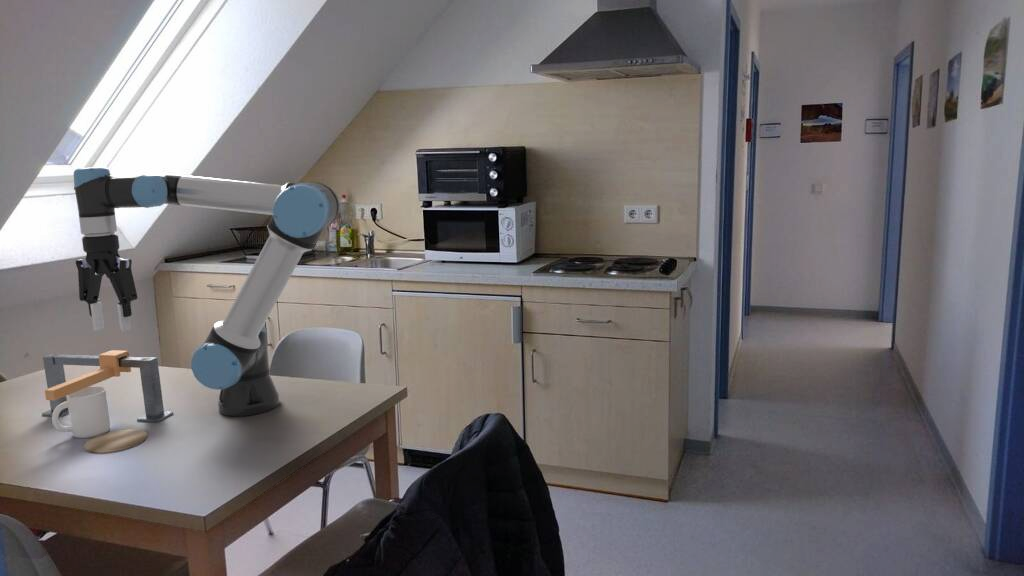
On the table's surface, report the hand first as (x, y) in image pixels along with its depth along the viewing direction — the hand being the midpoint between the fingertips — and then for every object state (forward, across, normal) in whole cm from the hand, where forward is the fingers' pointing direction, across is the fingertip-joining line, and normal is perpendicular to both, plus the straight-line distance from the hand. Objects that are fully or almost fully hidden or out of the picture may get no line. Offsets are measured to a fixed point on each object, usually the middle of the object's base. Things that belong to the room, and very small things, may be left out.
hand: (112, 329), depth 181 cm
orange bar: (+14, +8, +1) cm, 16 cm away
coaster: (+25, -4, +8) cm, 27 cm away
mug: (+25, +8, +5) cm, 27 cm away
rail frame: (+25, +12, -8) cm, 29 cm away
